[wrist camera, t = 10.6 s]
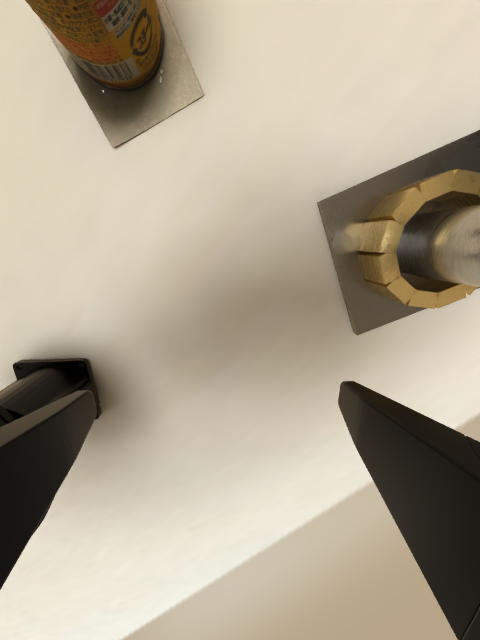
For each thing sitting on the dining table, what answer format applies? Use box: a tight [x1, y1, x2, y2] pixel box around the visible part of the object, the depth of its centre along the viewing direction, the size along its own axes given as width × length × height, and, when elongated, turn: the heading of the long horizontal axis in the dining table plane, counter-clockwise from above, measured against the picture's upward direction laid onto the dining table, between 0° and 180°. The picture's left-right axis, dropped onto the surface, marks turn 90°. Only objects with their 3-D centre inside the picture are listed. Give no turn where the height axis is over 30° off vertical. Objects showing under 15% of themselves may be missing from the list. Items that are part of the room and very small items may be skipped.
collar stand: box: [317, 130, 480, 335], centre depth 15 cm, size 15×12×10 cm
